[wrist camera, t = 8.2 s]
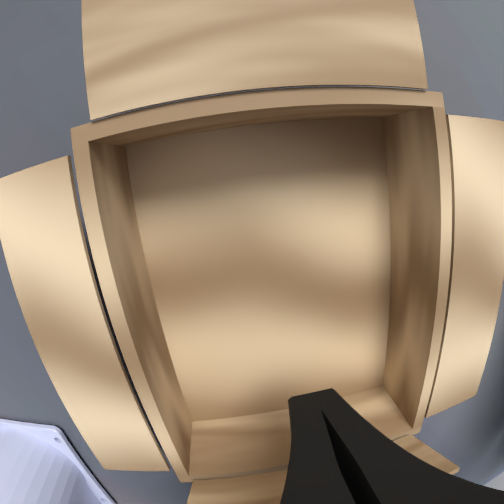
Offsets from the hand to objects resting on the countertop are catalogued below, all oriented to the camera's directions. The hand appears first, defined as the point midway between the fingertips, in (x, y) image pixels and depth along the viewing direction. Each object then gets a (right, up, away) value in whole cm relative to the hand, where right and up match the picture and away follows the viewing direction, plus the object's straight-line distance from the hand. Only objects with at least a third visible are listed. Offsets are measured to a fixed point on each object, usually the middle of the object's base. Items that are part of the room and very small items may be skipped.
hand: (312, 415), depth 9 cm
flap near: (-1, +9, -1) cm, 9 cm away
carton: (-1, +3, +5) cm, 6 cm away
